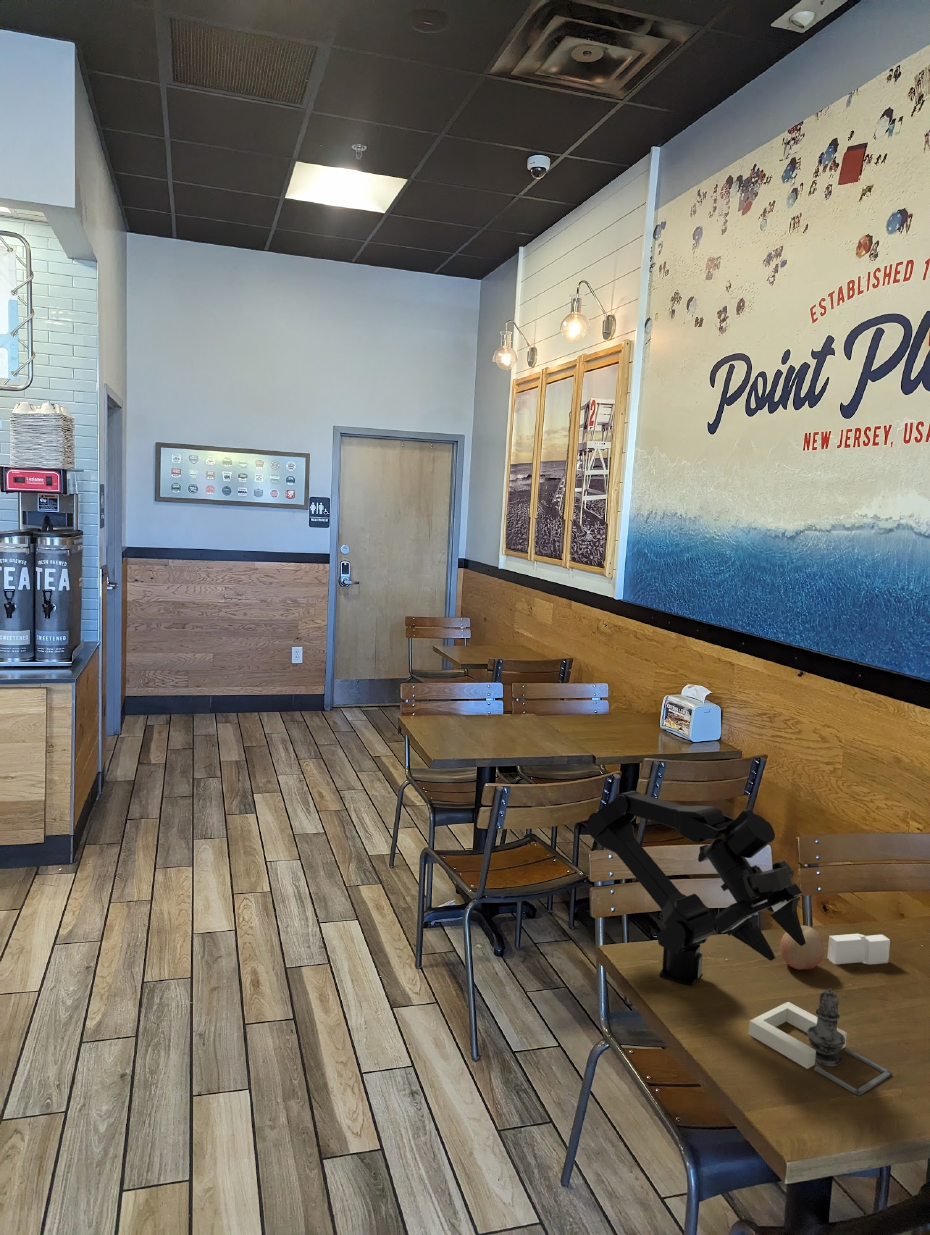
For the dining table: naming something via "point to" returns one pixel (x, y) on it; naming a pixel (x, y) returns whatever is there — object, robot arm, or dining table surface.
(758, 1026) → the u-shaped bracket
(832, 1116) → the dining table surface
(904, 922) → the dining table surface
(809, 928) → the fruit
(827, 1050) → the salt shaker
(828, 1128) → the dining table surface
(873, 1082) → the frame
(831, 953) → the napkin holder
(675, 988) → the dining table surface
